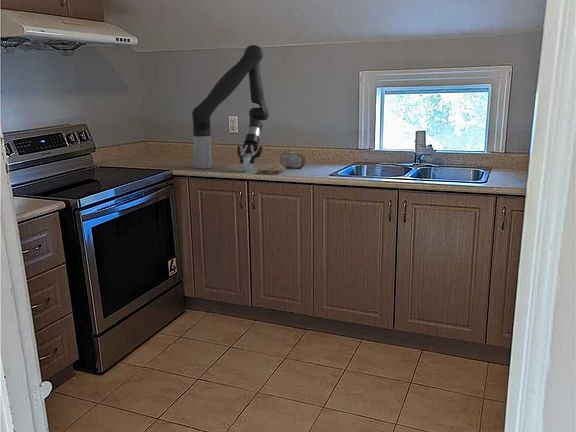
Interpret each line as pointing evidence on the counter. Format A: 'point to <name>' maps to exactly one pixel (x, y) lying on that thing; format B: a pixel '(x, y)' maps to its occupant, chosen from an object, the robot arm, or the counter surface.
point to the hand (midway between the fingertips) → (246, 162)
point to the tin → (293, 160)
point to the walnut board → (271, 170)
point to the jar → (247, 163)
